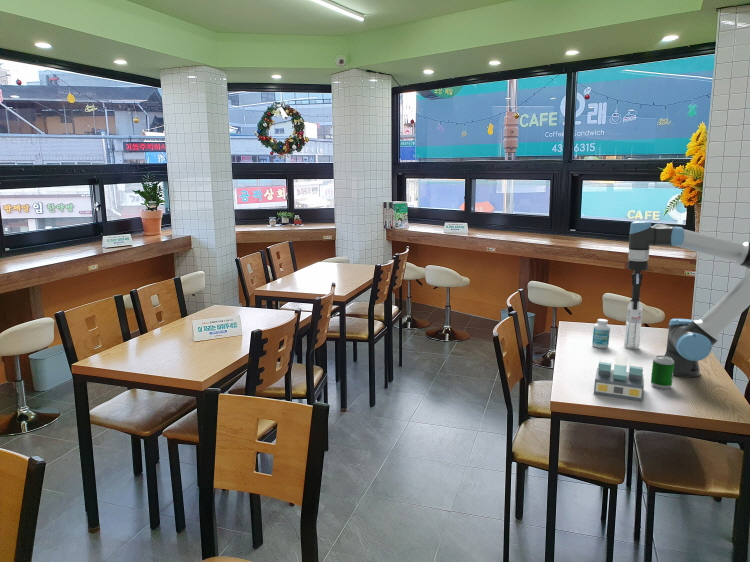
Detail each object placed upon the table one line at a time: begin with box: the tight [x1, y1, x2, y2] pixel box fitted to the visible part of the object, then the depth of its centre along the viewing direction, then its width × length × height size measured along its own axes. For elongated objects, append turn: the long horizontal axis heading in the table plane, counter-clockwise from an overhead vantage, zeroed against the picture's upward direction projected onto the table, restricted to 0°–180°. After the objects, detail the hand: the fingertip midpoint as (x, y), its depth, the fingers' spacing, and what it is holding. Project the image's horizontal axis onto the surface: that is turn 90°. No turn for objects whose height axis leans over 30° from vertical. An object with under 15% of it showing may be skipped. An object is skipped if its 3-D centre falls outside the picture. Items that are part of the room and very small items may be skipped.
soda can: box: [650, 355, 674, 390], centre depth 227 cm, size 8×8×12 cm
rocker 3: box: [628, 363, 644, 376], centre depth 218 cm, size 4×12×2 cm, turn 156°
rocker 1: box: [597, 359, 613, 372], centre depth 223 cm, size 4×12×2 cm, turn 156°
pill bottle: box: [591, 318, 611, 349], centre depth 279 cm, size 8×7×14 cm
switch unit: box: [593, 367, 645, 402], centre depth 221 cm, size 17×14×8 cm
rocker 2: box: [613, 354, 628, 381], centre depth 221 cm, size 4×12×2 cm, turn 156°
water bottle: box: [623, 301, 644, 350], centre depth 277 cm, size 7×7×25 cm
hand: (634, 316), depth 234 cm, fingers closed
